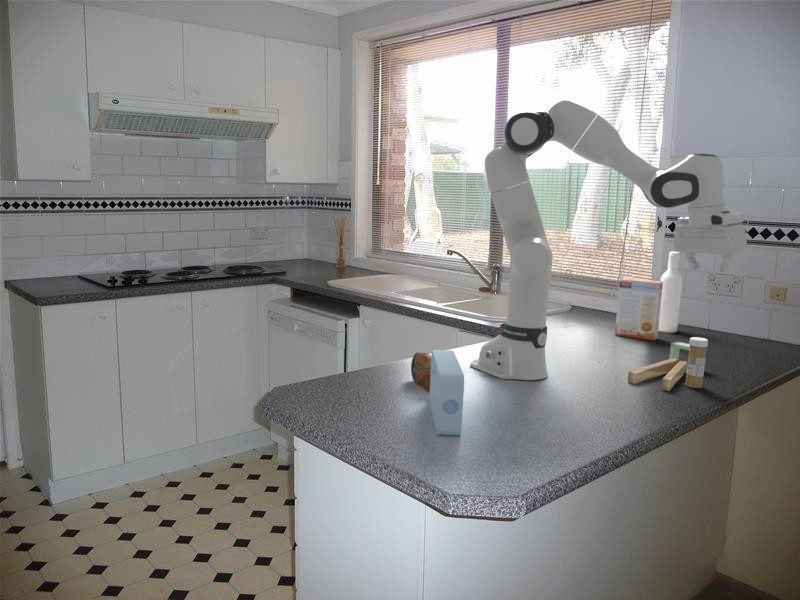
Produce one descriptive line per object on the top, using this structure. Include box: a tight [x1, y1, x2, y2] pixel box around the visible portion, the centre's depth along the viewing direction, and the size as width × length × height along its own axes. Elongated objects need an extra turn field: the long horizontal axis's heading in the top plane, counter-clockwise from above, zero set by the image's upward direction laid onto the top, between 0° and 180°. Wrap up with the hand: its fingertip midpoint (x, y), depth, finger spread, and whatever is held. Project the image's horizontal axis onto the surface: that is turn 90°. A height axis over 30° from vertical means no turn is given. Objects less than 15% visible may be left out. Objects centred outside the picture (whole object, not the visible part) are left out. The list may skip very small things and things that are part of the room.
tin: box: [410, 351, 432, 393], centre depth 178 cm, size 15×3×8 cm, turn 23°
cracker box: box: [614, 277, 663, 341], centre depth 248 cm, size 14×6×21 cm, turn 58°
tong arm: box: [660, 360, 688, 392], centre depth 194 cm, size 2×24×3 cm, turn 148°
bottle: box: [658, 251, 683, 334], centre depth 260 cm, size 8×8×30 cm
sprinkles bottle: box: [684, 336, 709, 389], centre depth 188 cm, size 5×5×14 cm
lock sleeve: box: [668, 341, 690, 359], centre depth 208 cm, size 8×4×7 cm, turn 43°
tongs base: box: [627, 358, 684, 385], centre depth 198 cm, size 3×27×3 cm, turn 133°
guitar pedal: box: [429, 349, 465, 437], centre depth 154 cm, size 23×6×13 cm, turn 2°
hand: (709, 270), depth 179 cm, fingers open, 8 cm apart
